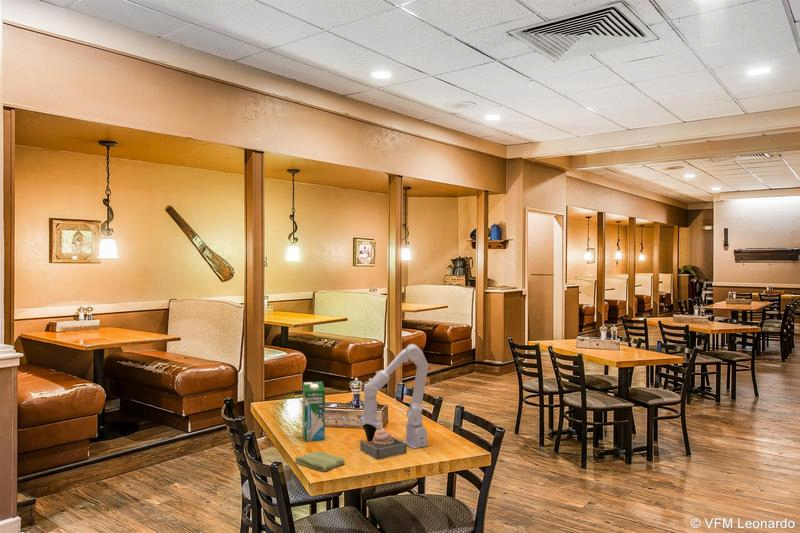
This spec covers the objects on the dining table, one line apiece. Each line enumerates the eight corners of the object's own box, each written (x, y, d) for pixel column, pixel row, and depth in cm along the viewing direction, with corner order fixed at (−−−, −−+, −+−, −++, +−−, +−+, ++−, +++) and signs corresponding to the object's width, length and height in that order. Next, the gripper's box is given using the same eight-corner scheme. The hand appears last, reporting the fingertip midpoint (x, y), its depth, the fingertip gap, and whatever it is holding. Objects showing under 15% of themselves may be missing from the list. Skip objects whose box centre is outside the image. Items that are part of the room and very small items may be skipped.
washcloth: (316, 455, 239) (316, 447, 239) (346, 465, 228) (346, 457, 228) (292, 463, 229) (292, 455, 229) (322, 474, 218) (323, 466, 218)
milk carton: (304, 441, 256) (304, 386, 255) (302, 435, 264) (302, 382, 264) (324, 440, 258) (325, 385, 258) (321, 434, 267) (322, 381, 266)
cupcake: (398, 451, 243) (398, 428, 243) (381, 456, 237) (381, 432, 237) (384, 446, 250) (384, 423, 250) (367, 451, 244) (367, 427, 244)
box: (406, 453, 242) (406, 443, 242) (377, 459, 234) (377, 449, 234) (388, 444, 253) (388, 435, 253) (360, 450, 245) (360, 440, 245)
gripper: (354, 408, 256) (354, 438, 256) (371, 415, 244) (370, 447, 244) (367, 405, 260) (367, 435, 260) (385, 413, 248) (384, 444, 248)
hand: (370, 441), depth 253 cm, fingers closed
